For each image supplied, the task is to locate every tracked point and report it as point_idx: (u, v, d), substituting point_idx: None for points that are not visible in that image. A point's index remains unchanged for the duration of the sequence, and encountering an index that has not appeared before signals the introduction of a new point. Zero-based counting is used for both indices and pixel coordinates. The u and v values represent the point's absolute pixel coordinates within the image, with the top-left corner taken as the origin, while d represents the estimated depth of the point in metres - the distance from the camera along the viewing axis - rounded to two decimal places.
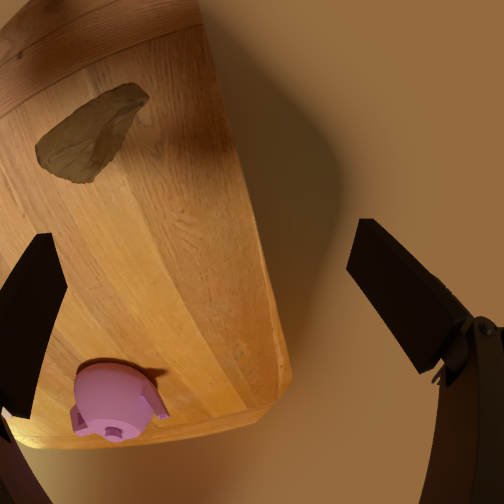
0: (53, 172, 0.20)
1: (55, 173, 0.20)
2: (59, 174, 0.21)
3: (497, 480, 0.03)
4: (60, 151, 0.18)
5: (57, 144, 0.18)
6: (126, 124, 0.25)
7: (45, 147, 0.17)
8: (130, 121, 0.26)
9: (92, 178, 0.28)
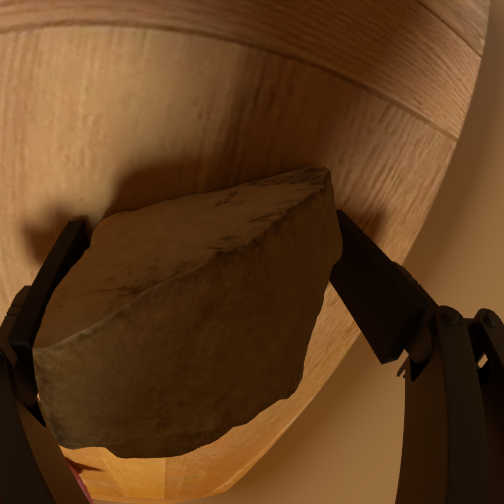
0: None
1: None
2: None
3: (475, 479, 0.03)
4: (179, 448, 0.04)
5: (164, 403, 0.04)
6: None
7: (97, 396, 0.04)
8: None
9: None
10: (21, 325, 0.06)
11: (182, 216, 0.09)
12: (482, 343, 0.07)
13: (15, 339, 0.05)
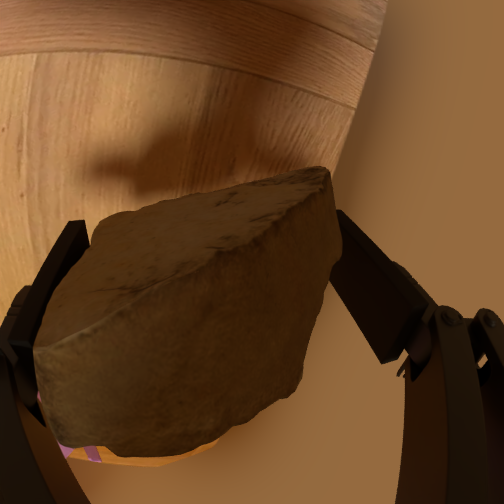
0: None
1: None
2: None
3: (475, 479, 0.03)
4: (179, 447, 0.04)
5: (164, 403, 0.04)
6: None
7: (97, 395, 0.04)
8: None
9: None
10: (21, 325, 0.06)
11: (182, 216, 0.09)
12: (482, 343, 0.07)
13: (15, 339, 0.05)
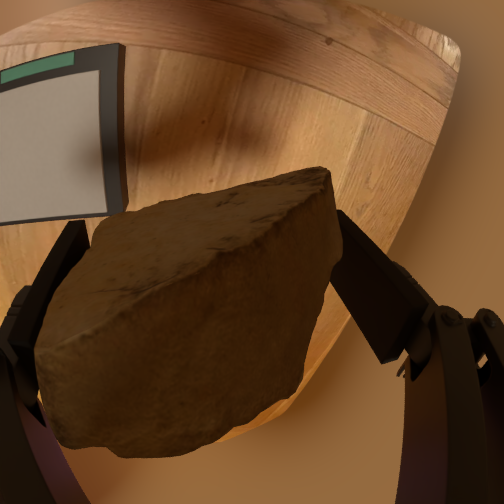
0: None
1: None
2: None
3: (475, 479, 0.03)
4: (181, 447, 0.04)
5: (166, 404, 0.04)
6: None
7: (99, 396, 0.04)
8: None
9: None
10: (21, 325, 0.06)
11: (183, 216, 0.09)
12: (482, 343, 0.07)
13: (15, 339, 0.05)
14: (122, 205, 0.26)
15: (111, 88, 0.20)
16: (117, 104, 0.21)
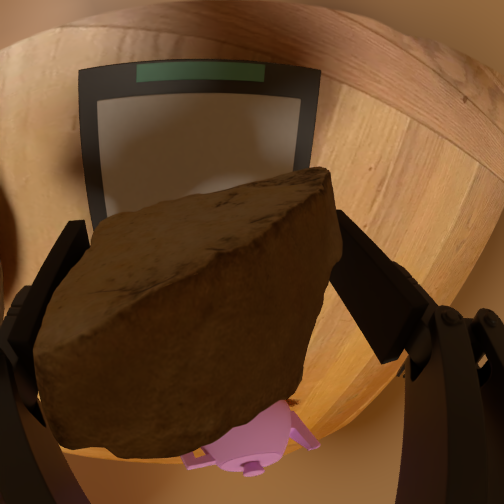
0: None
1: None
2: None
3: (475, 479, 0.03)
4: (179, 448, 0.04)
5: (164, 404, 0.04)
6: None
7: (97, 396, 0.04)
8: None
9: None
10: (21, 325, 0.06)
11: (182, 217, 0.09)
12: (482, 343, 0.07)
13: (15, 339, 0.05)
14: None
15: (308, 124, 0.19)
16: None
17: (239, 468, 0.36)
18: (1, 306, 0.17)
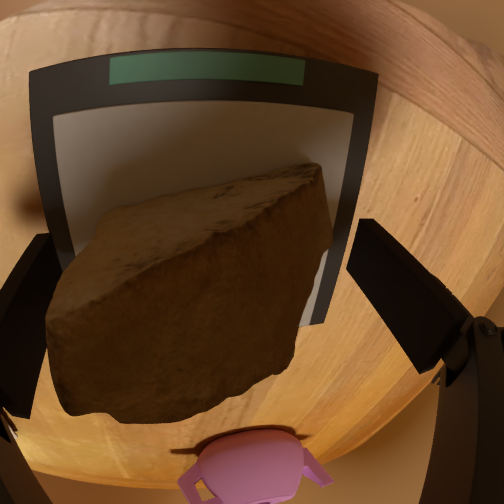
0: None
1: None
2: None
3: (497, 480, 0.03)
4: (178, 413, 0.05)
5: (165, 369, 0.05)
6: None
7: (103, 360, 0.04)
8: None
9: None
10: None
11: (182, 208, 0.09)
12: None
13: None
14: (326, 312, 0.20)
15: (359, 149, 0.14)
16: None
17: None
18: None
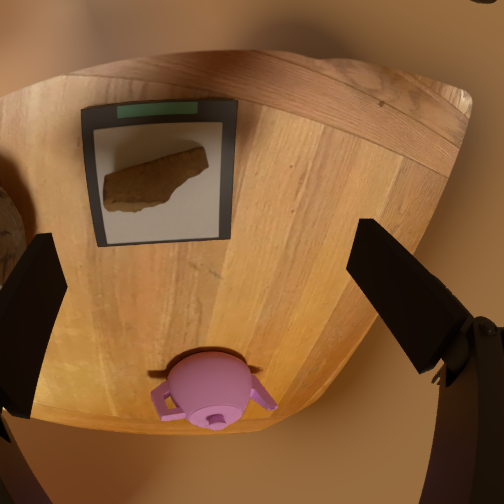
0: (107, 206, 0.21)
1: (106, 206, 0.22)
2: (108, 207, 0.22)
3: (497, 480, 0.03)
4: (130, 200, 0.20)
5: (129, 189, 0.20)
6: None
7: (116, 185, 0.20)
8: None
9: None
10: None
11: None
12: None
13: None
14: (230, 231, 0.35)
15: (230, 138, 0.29)
16: None
17: (206, 423, 0.46)
18: None
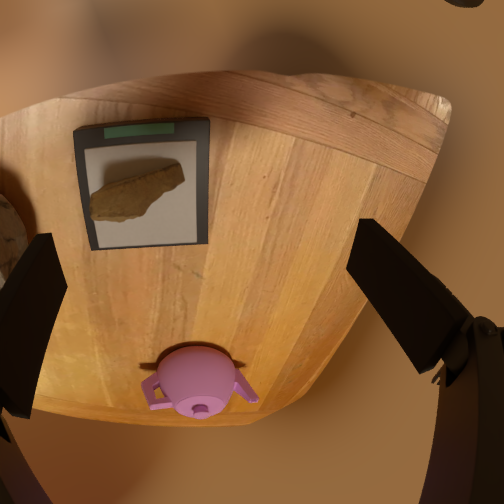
0: (94, 218, 0.25)
1: (94, 219, 0.25)
2: (95, 219, 0.26)
3: (497, 480, 0.03)
4: (112, 215, 0.24)
5: (111, 206, 0.24)
6: None
7: (100, 202, 0.23)
8: None
9: None
10: None
11: (126, 180, 0.29)
12: None
13: None
14: (207, 237, 0.39)
15: (204, 154, 0.33)
16: (208, 166, 0.34)
17: (192, 413, 0.50)
18: None
